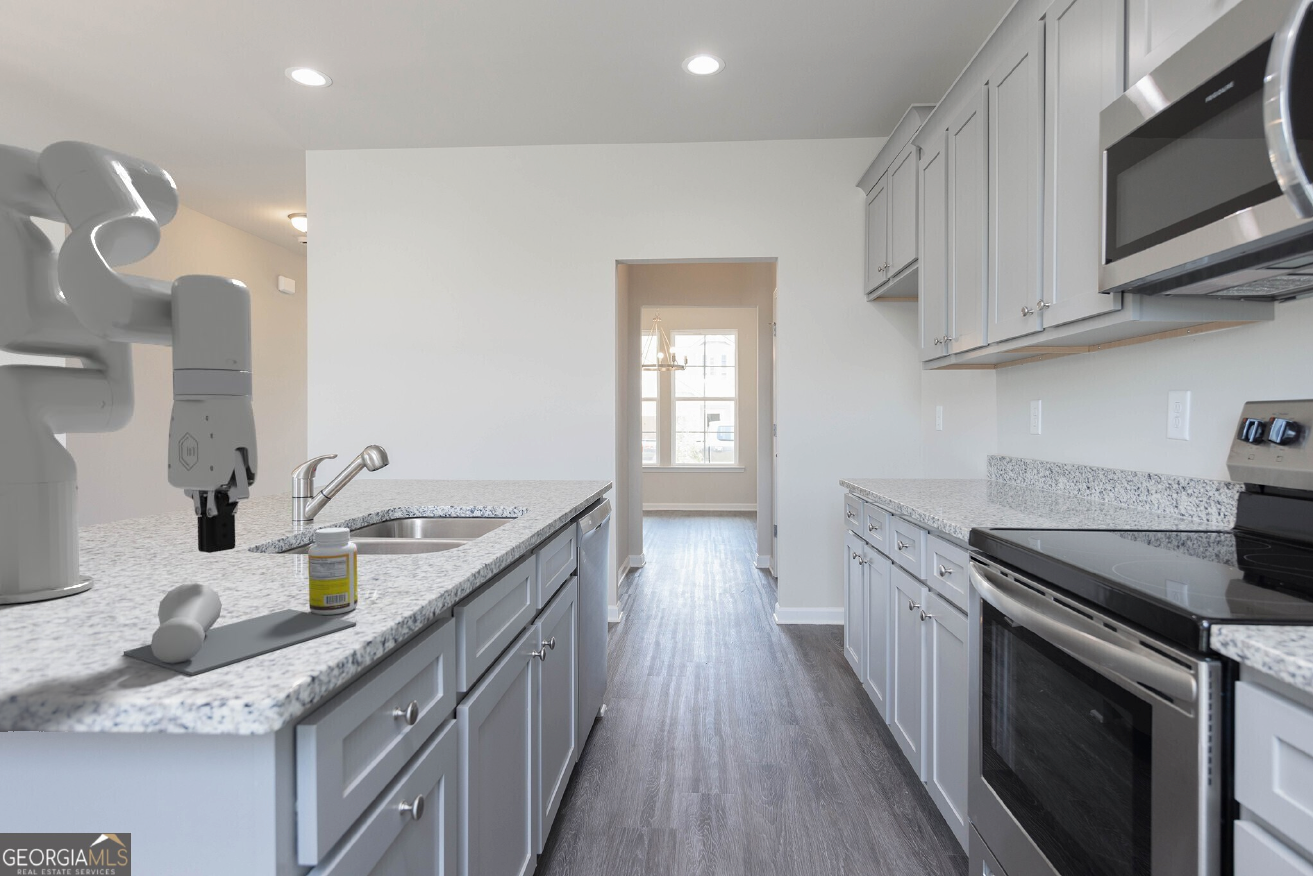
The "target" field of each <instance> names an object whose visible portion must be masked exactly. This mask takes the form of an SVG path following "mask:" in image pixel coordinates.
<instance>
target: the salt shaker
mask: <svg viewBox="0 0 1313 876" xmlns="http://www.w3.org/2000/svg"><path fill="white" fill-rule="evenodd" d="M161 599H162V600H160V602H159V606H158V611H157V616H158V621H159V626H158V627H157V628H156V630H155V631H154V632H153V634H152V636H151V642H150V645H151V648H152V651H153V653H154V656H155V657H157V658H158V659H160V660H161V661H162V662H167V663H171V664H175V663H181V662H185V661H187V660H189V659H190V658H192V657H194V656H195V655H196V654H197V653H198V651H199V650H200V649H201V647H202V646H203V642H204V637H205V633H206V632H207V631H208V630H209V629H212V628H213V626H214V625H215V623H216V622H217V621H218V619H219V618H220V616H221V611H222V607H223V604H222V602H221V600H220V599H221V598H220V596H219V593H217V592H216V591H215V590H214V589H213V588H211V587H210V586H209V585H205V584H202V583H198V582H192V583H185V584H181V585H179V586H177V587H175V588H173V589H171V590H169V591H168V592H167V593H166V595H165V596H164V597H163V598H161Z"/></svg>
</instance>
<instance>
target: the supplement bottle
mask: <svg viewBox="0 0 1313 876" xmlns="http://www.w3.org/2000/svg"><path fill="white" fill-rule="evenodd" d="M314 531H315V532H314V545H312V546H311V547H310V548H309V549H308V557H307V558H308V595H309V596H308V597H309V598H308V599H309V601H308V603H309V610H310V613H312V614H316V615H321V616H331V615H332V616H333V615H340V614H344V613H348V612H351V611H352V610H355V609H356V608H357V606H358V603H359V601H358V599H359V598H358V596H359V594H358V550H357V549H358V548H357V545H356V544H355V543H353V542H350V541H351V534H350V532H351V531H350V528H348V527H327V528H320V529H317V530H316V529H315V530H314Z"/></svg>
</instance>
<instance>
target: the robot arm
mask: <svg viewBox="0 0 1313 876" xmlns="http://www.w3.org/2000/svg"><path fill="white" fill-rule="evenodd" d="M178 191H179V190H178V188H177V186H176V183H175V181H174V180H173V178H172V177H171V176H170V174H169V173H168V171H166V170H164V169H163V168H162V167H161V166H160V165H157V164H155V163H153V162H150V161H148V160H144V159H143V158H142V159H141V158H138V157H135V156H131V155H128V154H125V153H122V152H118V151H116V150H113V149H108V148H105V147H103V146H99V145H96V144H93V143H90V142H84V141H77V140H60V141H56V142H54V143H51V144H49V145H48V146H46V147H45V148H43V150H42V151H40V152H38V151H35V150H33V149H32V150H31V149H28V148H24V147H20V146H15V145H8V144H2V143H0V351H1V352H6V353H8V354H9V353H10V354H14V355H15V354H16V355H23V356H32V357H33V356H34V357H48V358H49V357H50V358H60V359H61V358H62V359H76V360H80V362H81V365H82V367H73V366H62V365H61V366H60V365H44V364H25V363H24V364H22V363H12V364H3V365H0V605H6V604H18V603H30V602H35V601H36V602H37V601H42V600H50V599H56V598H61V597H66V596H70V595H74V594H78V593H81V592H85V591H87V590H89V589H92V587H93V586H94V585H95V583H94V582H95V581H94V578H93V577H92V576H91V575H85V574H82V575H81V574H80V548H79V547H80V544H79V543H80V540H79V539H80V537H79V536H80V535H79V533H80V532H79V500H78V499H79V493H78V491H79V490H78V489H79V488H78V487H79V486H78V470H77V469H78V468H77V464H76V462H75V459H74V457H73V455H72V454H71V453H70V452H69V450H67V448H66V447H65V446H64V445H63V444H62V443H61V442H60V441H59V440H58V439H57V438H56V437H55V436H56V435H62V434H64V435H65V434H102V433H103V434H104V433H114V432H118V431H119V430H123V429H124V428H126V427H127V426H128V425H129V423H130V422H131V420H132V418H133V415H134V412H135V405H136V404H135V402H136V401H135V398H136V397H135V381H134V380H135V379H134V377H135V376H134V364H133V347H132V346H133V345H132V344H141V345H151V346H162V347H171V350H172V351H171V355H172V359H171V360H172V363H171V364H172V395H173V396H172V397H173V400H172V401H173V404H172V409H171V413H170V421H169V428H168V430H169V432H168V445H167V446H168V447H167V480H168V481H167V482H168V483H169V485H171V486H172V487H173V488H175V489H183V493H184V495H185V496H186V497H188V498H190V499H192V501H193V509H194V514H195V516H196V517H197V549H198V551H199V552H201V553H208V554H211V553H218V552H223V551H229V550H234V549H235V547H236V517H235V516H236V515H237V514H238V510H239V503H240V502H242V501H245V500H247V499H249V498H250V496H251V495H250V489H249V488H250V487H252V486H253V485H254V484H255V483H257V479H258V470H259V469H258V468H259V465H258V462H259V459H258V458H259V457H258V456H259V455H258V445H257V444H258V442H257V431H256V423H255V422H256V421H255V415H254V410H253V407H252V406H253V405H252V402H253V373H252V368H253V366H252V361H253V360H252V314H251V313H252V312H251V310H252V309H251V307H252V304H251V303H252V302H251V292H250V290H249V289H248V286H247V285H246V284H244V283H243V282H242V281H240V280H238V279H234V278H230V277H226V276H221V275H212V274H186V275H181V276H179V277H177V278H175V279H174V281H170V280H164V279H163V280H162V279H159V278H158V279H157V278H152V277H147V276H141V275H136V274H135V275H134V274H128V273H123V272H122V273H121V272H117V271H114V270H113V269H112V268H117V267H122V266H128V265H132V264H135V263H137V262H140V261H142V260H145V259H146V258H148V257H149V256H150V255H151V254H152V253H154V251H156V250H157V247H158V246H159V244H160V242H161V238H162V237H161V236H162V234H161V233H162V232H161V228H162V227H164V226H166V225H168V224H169V223H171V222H172V221H173V219H174V217H176V215H177V212H178V209H179V203H180V199H179V197H180V196H179V192H178ZM31 217H34V218H39V219H44V220H48V221H52V222H57V223H62V224H66V225H68V226H69V228H70V230H71V233H70V234H68V236H67V237H66V238H65V240H64V241H63V243H62V245H61V247H60V249H59V251H58V248H56V246H55V245H54V243H53V242H52V240H51V239H50V238H49V236H47V234H46V233H45V232H44V231H43V230H42V229H41V228H40V227H39V226H38V225H37V224H36V223H35V222H34V221H33V220H32V219H31Z"/></svg>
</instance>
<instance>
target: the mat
mask: <svg viewBox="0 0 1313 876" xmlns="http://www.w3.org/2000/svg"><path fill="white" fill-rule="evenodd" d="M355 626H357V622H355V621H350V620H346V619H340V618H336V617H335V618H334V617H330V616H327V615H318V614H314V613H312V612H305V611H302V610H296V609H291V608H287V609H283V610H280V611H279V610H278V611H276V612H275V611H274V612H272V613H268V614H264V615H259V616H257V617H256V616H255V617H252V618H248V619H245V620H241V621H237V622H232V623H229V624H225V625H221V626H217V627H212V628H210V629H209V630H208V631H207V632H206V633H205V637H204V642H203V646H202V647H201V649H200V650H199V651H198V653H197V654H196V655H195V656H194V657H192V658H190V659H189V660H187V661H185V662H181V663H175V664H171V663H167V662H162V661H161V660H160V659H158V658H157V657H155V656H154V653H153V651H152V648H151V644H148V645H147V644H146V645H144V646H140V647H136V648H135V647H134V648H132V649H128V650H124V651H123V655H124V656H127V657H128V656H129V657H131V658H133V659H138V660H140V661H144V662H146V663H150V664H154V665H157V666H160V667H163V668H166V669H170V670H172V671H175V672H179V673H182V674H186V675H189V676H195V675H199V674H202V673H205V672H206V673H207V672H209V671H212V670H214V669H218V668H221V667H225V666H228V665H231V664H235V663H238V662H241V661H244V660H247V659H250V658H255V657H258V656H261V655H264V654H267V653H270V652H271V653H272V652H273V651H276V650H280V649H283V648H286V647H290V646H293V645H296V644H300V643H302V642H303V643H304V642H306V641H309V640H313V639H315V638H316V639H317V638H319V637H322V636H325V635H328V634H329V635H330V634H332V633H335V632H338V631H342V630H345V629H348V628H351V627H355Z"/></svg>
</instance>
